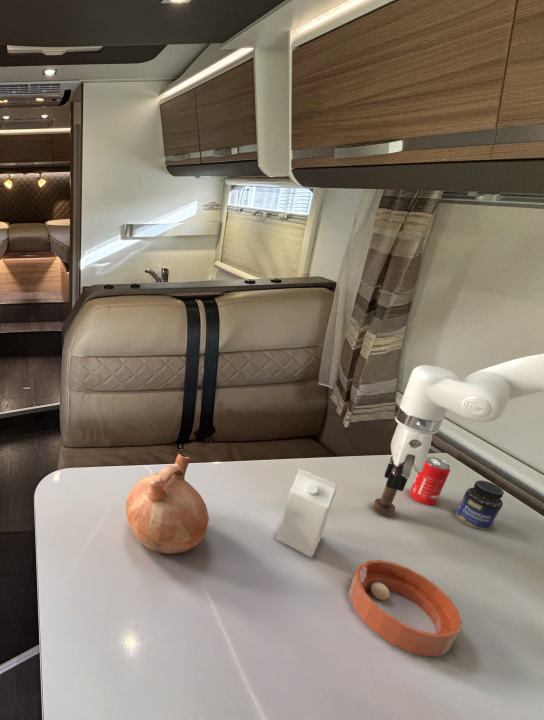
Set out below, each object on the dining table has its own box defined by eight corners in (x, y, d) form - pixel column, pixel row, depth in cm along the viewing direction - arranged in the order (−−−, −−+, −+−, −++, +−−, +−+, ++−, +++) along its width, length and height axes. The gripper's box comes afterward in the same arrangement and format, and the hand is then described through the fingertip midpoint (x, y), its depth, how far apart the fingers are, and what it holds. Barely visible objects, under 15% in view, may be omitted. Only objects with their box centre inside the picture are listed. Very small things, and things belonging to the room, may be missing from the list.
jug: (175, 585, 89) (187, 511, 81) (107, 533, 101) (112, 465, 94) (217, 537, 100) (232, 468, 92) (152, 495, 113) (160, 432, 105)
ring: (440, 605, 84) (451, 584, 82) (457, 677, 72) (471, 655, 70) (347, 568, 92) (354, 548, 90) (349, 628, 80) (358, 607, 78)
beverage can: (416, 506, 108) (432, 468, 104) (403, 492, 113) (418, 455, 108) (439, 509, 107) (457, 470, 103) (425, 494, 112) (441, 457, 107)
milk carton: (285, 524, 103) (303, 461, 96) (319, 541, 98) (340, 476, 91) (275, 541, 99) (293, 476, 91) (310, 560, 94) (332, 493, 87)
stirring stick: (390, 511, 107) (410, 463, 101) (392, 522, 103) (412, 472, 98) (370, 505, 109) (388, 457, 103) (372, 515, 106) (390, 466, 100)
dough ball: (386, 594, 86) (390, 583, 85) (387, 606, 83) (392, 595, 82) (367, 586, 87) (372, 576, 86) (368, 598, 85) (373, 587, 84)
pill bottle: (454, 523, 103) (471, 487, 99) (454, 509, 107) (470, 474, 103) (490, 537, 99) (509, 500, 95) (488, 522, 103) (507, 486, 99)
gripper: (448, 443, 87) (418, 511, 94) (433, 407, 100) (408, 470, 107) (401, 431, 91) (376, 498, 98) (393, 398, 104) (371, 459, 111)
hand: (393, 483), depth 102 cm, fingers open, 3 cm apart
